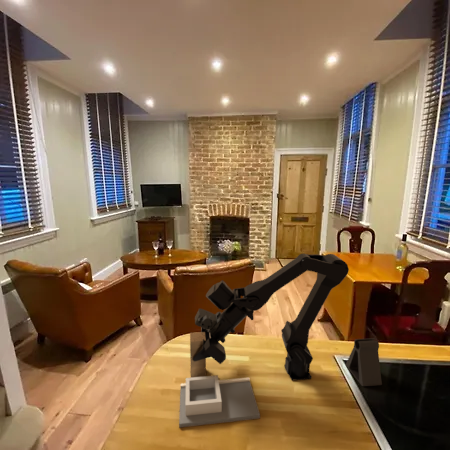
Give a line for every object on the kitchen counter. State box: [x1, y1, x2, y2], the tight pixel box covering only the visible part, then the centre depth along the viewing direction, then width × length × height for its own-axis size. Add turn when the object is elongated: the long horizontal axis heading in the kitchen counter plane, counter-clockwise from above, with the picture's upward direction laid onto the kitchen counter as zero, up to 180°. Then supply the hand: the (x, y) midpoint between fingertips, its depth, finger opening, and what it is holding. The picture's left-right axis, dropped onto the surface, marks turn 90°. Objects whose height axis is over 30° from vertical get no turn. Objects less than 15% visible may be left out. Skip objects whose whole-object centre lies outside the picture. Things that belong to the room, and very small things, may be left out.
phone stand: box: [345, 337, 383, 387], centre depth 79 cm, size 9×6×12 cm, turn 5°
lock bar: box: [189, 331, 207, 378], centre depth 78 cm, size 4×4×12 cm
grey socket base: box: [178, 374, 261, 428], centre depth 69 cm, size 20×12×4 cm, turn 98°
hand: (193, 354), depth 78 cm, fingers closed on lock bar, 4 cm apart
